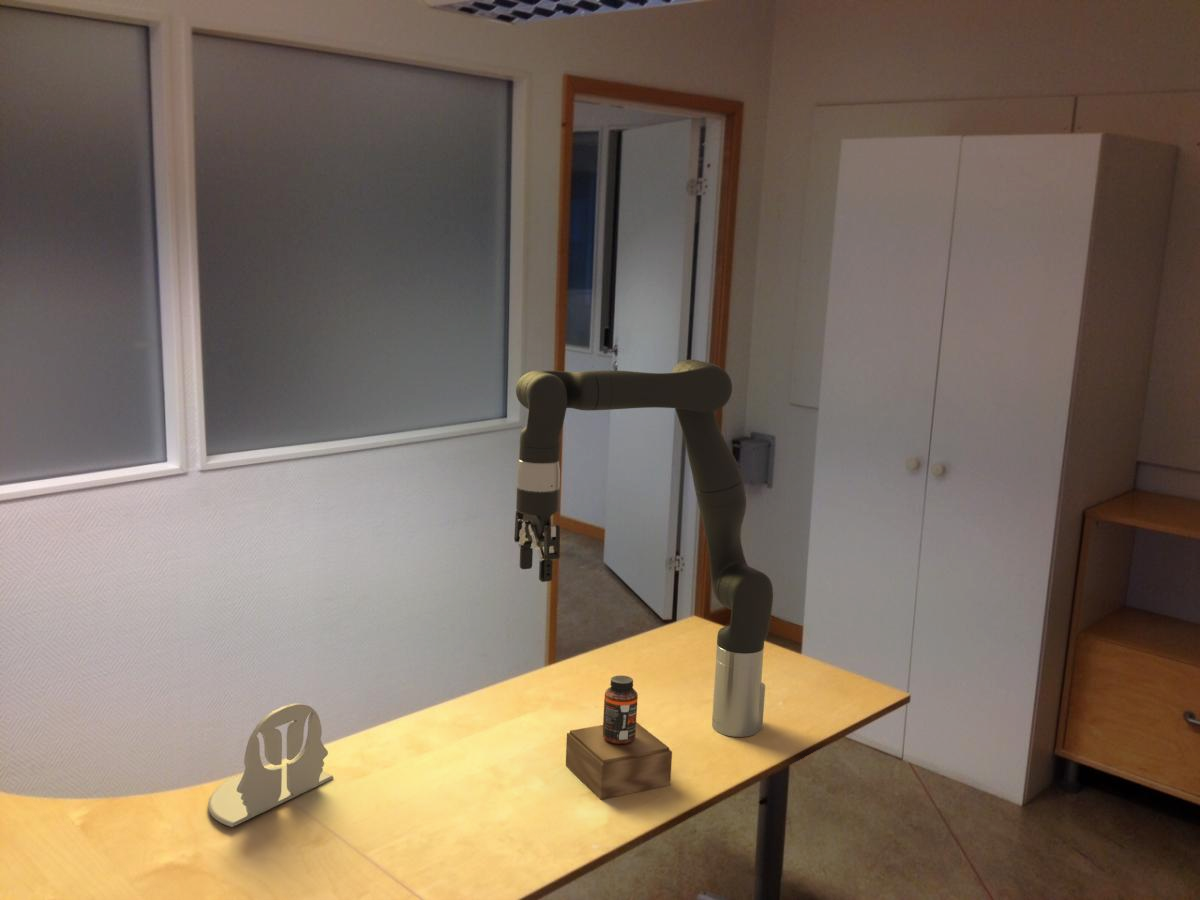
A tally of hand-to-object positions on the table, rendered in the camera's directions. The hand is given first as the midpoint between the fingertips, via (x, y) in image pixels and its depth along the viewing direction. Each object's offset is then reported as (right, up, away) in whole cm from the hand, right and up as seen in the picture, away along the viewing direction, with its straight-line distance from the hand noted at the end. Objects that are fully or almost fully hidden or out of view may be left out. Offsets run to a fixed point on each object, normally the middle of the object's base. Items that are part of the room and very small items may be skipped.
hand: (535, 574), depth 198 cm
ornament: (-47, -36, -8) cm, 60 cm away
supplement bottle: (+15, -30, +2) cm, 34 cm away
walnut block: (+15, -37, +3) cm, 40 cm away
